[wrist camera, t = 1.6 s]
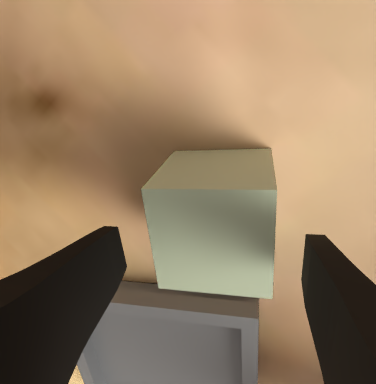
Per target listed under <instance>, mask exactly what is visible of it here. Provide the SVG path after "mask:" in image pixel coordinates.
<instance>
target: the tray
mask: <svg viewBox="0 0 376 384" xmlns="http://www.w3.org/2000/svg"><path fill="white" fill-rule="evenodd" d="M258 329H259V298H255V297H244V296H234V295H223V294H213V293H202V292H192V291H181V290H171V289H160V288H158V284H151V283H140V282H129V281H121V283H120V285H119V288H118V290H117V291H116V293H115V295H114V297H113V299H112V300H111V302H110V304H109V306H108V307H107V309H106V311H105V312H104V314H103V316H102V318H101V319H100V321H99V323H98V324H97V326H96V328H95V330H94V331H93V333H92V335H91V336H90V338H89V340H88V342H87V344H86V346H85V348H84V350H83V352H82V354H81V356H80V358H79V360H78V363H77V366H78V368H79V371H80V374H81V376H82V379H83V381H84V384H258Z"/></svg>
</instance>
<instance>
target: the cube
mask: <svg viewBox="0 0 376 384" xmlns="http://www.w3.org/2000/svg"><path fill="white" fill-rule="evenodd" d="M141 192H142V198H143V204H144V209H145V215H146V220H147V226H148V232H149V237H150V243H151V249H152V254H153V260H154V265H155V271H156V277H157V282H158V288H160V289H171V290H181V291H192V292H202V293H213V294H223V295H234V296H244V297H255V298H265V299H272V298H273V274H274V250H275V227H276V203H277V186H276V179H275V172H274V165H273V158H272V150H271V148H265V149H228V150H191V151H174V152H173V153H172V154H171V155H170V156H169V158H168V159H167V160H166V161H165V162H164V163H163V164H162V166H161V167H160V168H159V169H158V170H157V171H156V172H155V173H154V175H153V176H152V177H151V178H150V179H149V180H148V181H147V183H146V184H145V185H144V186H143V187H142V188H141Z"/></svg>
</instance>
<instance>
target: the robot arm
mask: <svg viewBox="0 0 376 384" xmlns="http://www.w3.org/2000/svg"><path fill="white" fill-rule="evenodd" d="M126 268H127V264H126V260H125V256H124V251H123V247H122V243H121V238H120V234H119V230H118V227H112V226H104V227H102V228H99V229H97V230H95V231H93V232H92V233H90V234H88V235H86V236H84V237H83V238H81V239H79V240H77V241H76V242H74V243H72V244H70V245H69V246H67V247H65V248H63V249H62V250H60V251H58V252H56V253H54V254H52V255H51V256H49V257H47V258H45V259H43V260H41V261H39V262H37V263H35V264H34V265H32V266H30V267H28V268H26V269H24V270H21V271H19V272H17V273H15V274H13V275H10V276H8V277H6V278H4V279H1V280H0V384H68V383H69V380H70V378H71V376H72V373H73V371H74V369H75V367H76V365H77V363H78V360H79V358H80V356H81V354H82V352H83V350H84V348H85V346H86V344H87V342H88V340H89V338H90V336H91V335H92V333H93V331H94V330H95V328H96V326H97V324H98V323H99V321H100V319H101V318H102V316H103V314H104V312H105V311H106V309H107V307H108V306H109V304H110V302H111V300H112V299H113V297H114V295H115V293H116V291H117V290H118V288H119V285H120V283H121V281H122V278H123V276H124V273H125V270H126ZM301 280H302V288H303V296H304V303H305V309H306V313H307V317H308V321H309V325H310V328H311V332H312V336H313V340H314V344H315V348H316V352H317V355H318V359H319V363H320V367H321V371H322V375H323V380H324V384H376V285H375V284H374V283H373V282H372V281H371V280H370V279H369V278H368V277H366V276H365V275H364V274H363V273H362V272H361V271H360V270H359V269H358V268H357V267H356V266H355V265H354V264H353V263H352V262H351V261H350V260H349V259H348V258H347V257H346V256H345V255H344V254H343V253H342V252H341V251H340V250H339V249H338V248H337V247H336V246H335V245H334V244H333V243H332V242H331V241H330V240H329V239H328V238H327V237H326V236H325V235H312V234H306V238H305V248H304V259H303V269H302V279H301Z"/></svg>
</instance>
